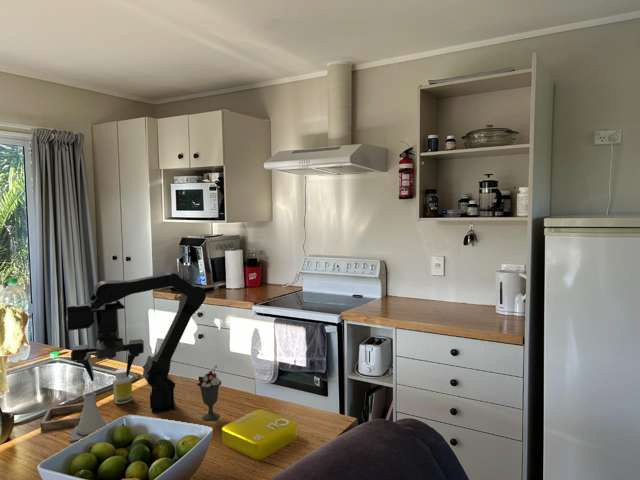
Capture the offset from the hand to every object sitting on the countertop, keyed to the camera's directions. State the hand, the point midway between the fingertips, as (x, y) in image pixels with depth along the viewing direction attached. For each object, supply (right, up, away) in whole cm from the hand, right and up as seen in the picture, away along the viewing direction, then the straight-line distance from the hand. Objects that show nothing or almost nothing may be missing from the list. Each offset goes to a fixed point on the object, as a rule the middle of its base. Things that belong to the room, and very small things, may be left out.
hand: (110, 378), depth 137 cm
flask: (-2, -12, -6) cm, 14 cm away
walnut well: (-14, -12, +2) cm, 18 cm away
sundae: (+29, -12, +1) cm, 31 cm away
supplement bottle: (-2, -11, +14) cm, 18 cm away
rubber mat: (-3, -13, -6) cm, 14 cm away
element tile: (+45, -13, -12) cm, 48 cm away
